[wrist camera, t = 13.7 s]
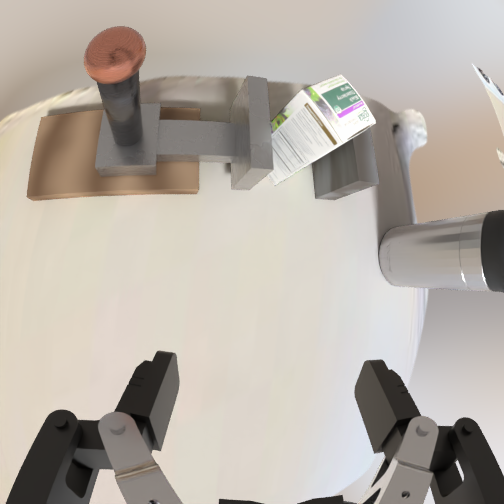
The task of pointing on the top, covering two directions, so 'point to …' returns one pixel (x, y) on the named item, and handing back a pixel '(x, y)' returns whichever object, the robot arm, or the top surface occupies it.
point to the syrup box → (316, 125)
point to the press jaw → (171, 131)
